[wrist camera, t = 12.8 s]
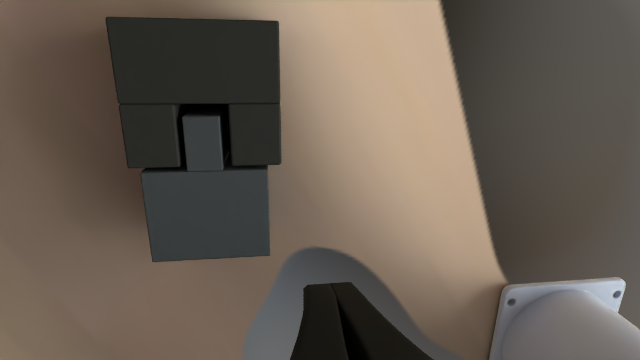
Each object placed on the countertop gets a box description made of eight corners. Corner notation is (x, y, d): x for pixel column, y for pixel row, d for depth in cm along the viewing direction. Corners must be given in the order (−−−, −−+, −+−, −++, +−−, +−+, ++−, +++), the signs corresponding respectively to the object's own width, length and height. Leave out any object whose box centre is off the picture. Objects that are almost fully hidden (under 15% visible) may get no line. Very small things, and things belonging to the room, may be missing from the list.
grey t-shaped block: (269, 227, 20) (270, 256, 17) (168, 231, 19) (152, 262, 17) (265, 105, 18) (266, 116, 15) (153, 106, 17) (131, 117, 15)
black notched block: (278, 147, 19) (281, 165, 16) (148, 150, 18) (127, 168, 15) (276, 25, 17) (278, 20, 14) (132, 22, 16) (104, 16, 13)
